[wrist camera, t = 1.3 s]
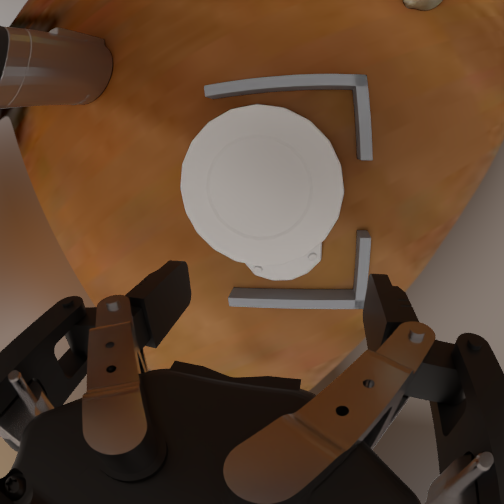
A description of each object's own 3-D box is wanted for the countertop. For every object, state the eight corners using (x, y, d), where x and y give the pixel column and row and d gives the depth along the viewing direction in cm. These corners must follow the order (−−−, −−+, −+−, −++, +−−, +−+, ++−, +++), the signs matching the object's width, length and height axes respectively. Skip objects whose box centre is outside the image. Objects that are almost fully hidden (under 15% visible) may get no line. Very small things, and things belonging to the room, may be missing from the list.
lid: (227, 288, 37) (220, 300, 35) (171, 139, 31) (158, 140, 29) (361, 258, 32) (365, 269, 30) (313, 87, 26) (313, 82, 23)
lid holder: (212, 89, 28) (204, 85, 26) (362, 79, 24) (366, 74, 22) (234, 295, 37) (229, 306, 35) (361, 297, 34) (364, 308, 31)
